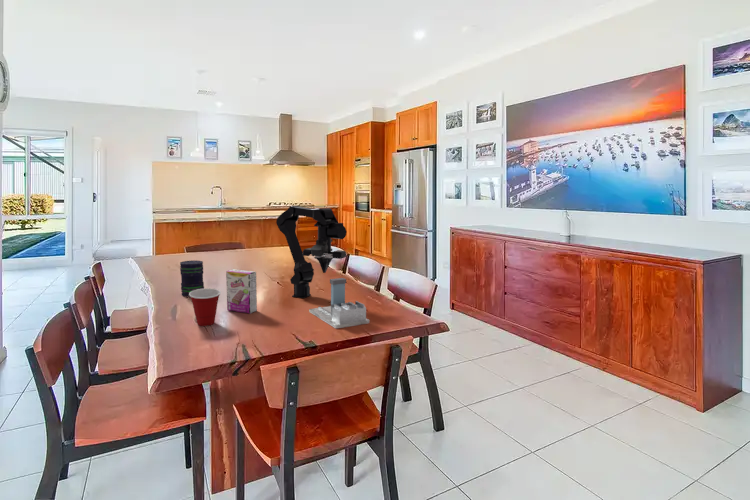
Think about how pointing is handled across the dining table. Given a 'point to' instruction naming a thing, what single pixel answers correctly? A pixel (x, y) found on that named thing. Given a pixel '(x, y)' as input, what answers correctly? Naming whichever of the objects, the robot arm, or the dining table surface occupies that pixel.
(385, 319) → the dining table surface
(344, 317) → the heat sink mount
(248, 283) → the candy bar box
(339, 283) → the light blue bar
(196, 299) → the plastic cup
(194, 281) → the storage jar
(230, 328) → the dining table surface
